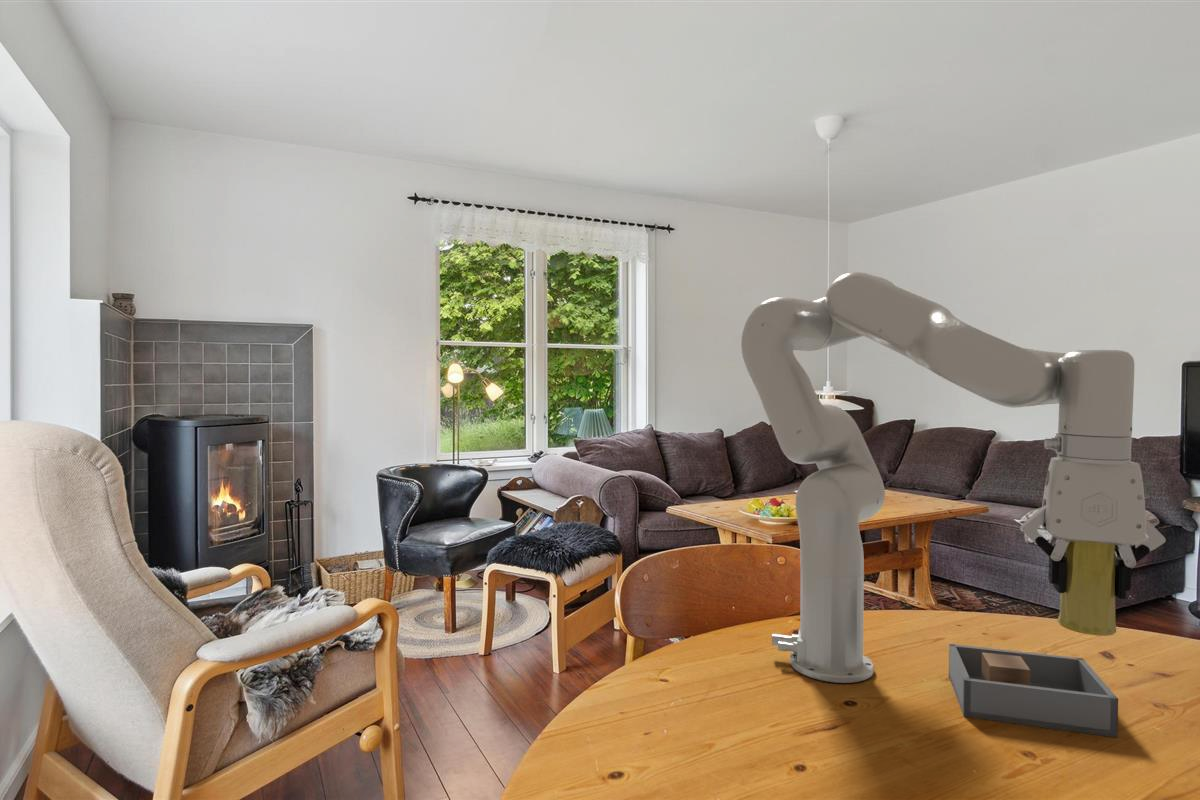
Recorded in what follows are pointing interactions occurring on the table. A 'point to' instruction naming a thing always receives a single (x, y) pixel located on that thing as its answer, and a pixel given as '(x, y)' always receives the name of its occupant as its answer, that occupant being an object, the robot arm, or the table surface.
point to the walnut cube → (1005, 669)
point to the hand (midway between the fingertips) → (1088, 591)
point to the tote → (1035, 692)
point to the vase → (1089, 589)
